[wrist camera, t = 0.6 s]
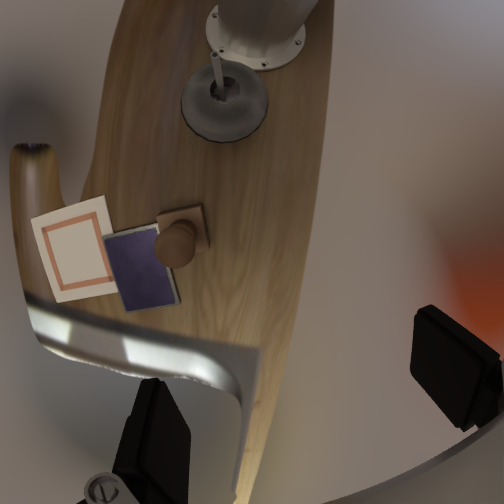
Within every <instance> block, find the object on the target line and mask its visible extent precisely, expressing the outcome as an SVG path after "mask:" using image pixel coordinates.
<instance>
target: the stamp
mask: <svg viewBox="0 0 504 504" xmlns="http://www.w3.org/2000/svg"><path fill="white" fill-rule="evenodd" d="M156 219H157V223H158V227H159V231H160V233H159V235H158V236H157V238H156V240H155V244H154V252H155V255H156V257H157V259H158V261H159V262H160V263H161V264H162V265H164V266H166V267H168V268H172V269H178V268H182V267H184V266H186V265H187V264H188V263H189V262H190V261H191V260H192V259H193V257H194V254H195V253H200V252H205V251H209V249H210V241H209V236H208V231H207V227H206V222H205V217H204V212H203V207H202V204H197V205H192V206H187V207H183V208H178V209H173V210H169V211H165V212H161V213H160V214H158V215H157V216H156Z"/></svg>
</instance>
